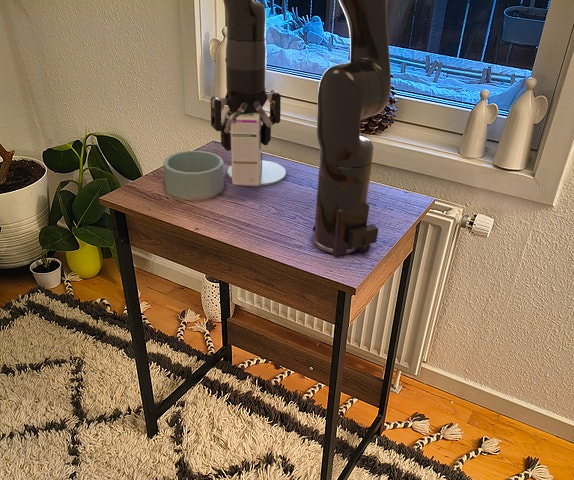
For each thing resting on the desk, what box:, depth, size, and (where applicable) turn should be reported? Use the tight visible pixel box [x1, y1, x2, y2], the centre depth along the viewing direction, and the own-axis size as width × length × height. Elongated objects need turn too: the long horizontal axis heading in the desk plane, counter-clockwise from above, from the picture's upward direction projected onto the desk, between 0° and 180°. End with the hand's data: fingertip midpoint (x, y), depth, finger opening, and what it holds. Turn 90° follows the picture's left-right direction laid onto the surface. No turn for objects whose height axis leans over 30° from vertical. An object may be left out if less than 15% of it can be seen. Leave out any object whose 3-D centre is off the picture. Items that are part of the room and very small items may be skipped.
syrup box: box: [230, 113, 262, 187], centre depth 117 cm, size 6×6×14 cm
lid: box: [227, 150, 287, 187], centre depth 134 cm, size 14×14×6 cm
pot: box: [163, 150, 225, 200], centre depth 127 cm, size 13×13×6 cm
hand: (246, 146), depth 117 cm, fingers closed on syrup box, 7 cm apart
